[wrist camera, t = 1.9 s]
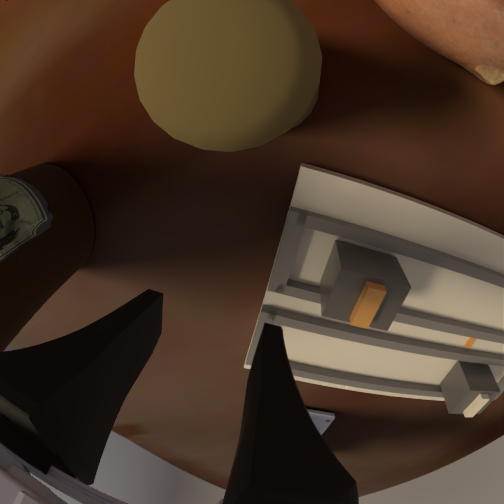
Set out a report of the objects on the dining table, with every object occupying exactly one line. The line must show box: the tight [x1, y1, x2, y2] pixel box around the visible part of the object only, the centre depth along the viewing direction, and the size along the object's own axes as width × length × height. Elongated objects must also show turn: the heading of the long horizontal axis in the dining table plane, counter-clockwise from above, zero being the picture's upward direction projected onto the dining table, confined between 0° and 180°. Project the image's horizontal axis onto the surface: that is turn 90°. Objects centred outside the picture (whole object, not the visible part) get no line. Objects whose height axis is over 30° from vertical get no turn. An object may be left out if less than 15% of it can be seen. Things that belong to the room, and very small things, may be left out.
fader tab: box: [320, 239, 411, 331], centre depth 17 cm, size 3×4×4 cm
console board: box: [244, 163, 504, 401], centre depth 20 cm, size 16×26×2 cm, turn 78°
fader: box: [440, 361, 500, 417], centre depth 19 cm, size 3×4×4 cm
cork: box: [134, 0, 322, 152], centre depth 11 cm, size 6×6×11 cm
